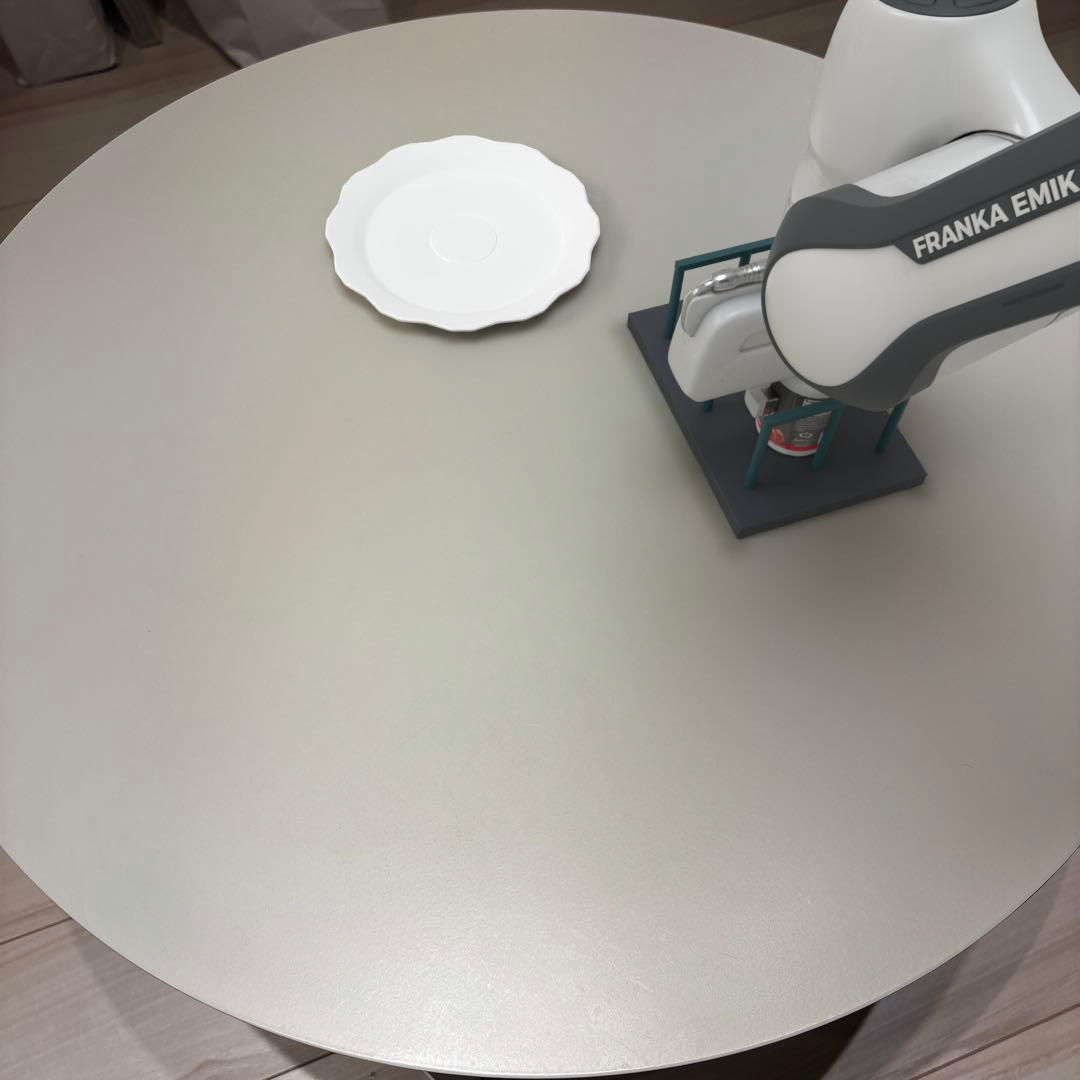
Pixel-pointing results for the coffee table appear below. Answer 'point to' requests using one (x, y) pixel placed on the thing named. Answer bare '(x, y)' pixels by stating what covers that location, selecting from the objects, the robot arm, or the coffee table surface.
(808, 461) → the rack
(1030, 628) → the coffee table surface
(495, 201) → the plate
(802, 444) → the pill bottle
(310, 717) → the coffee table surface
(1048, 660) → the coffee table surface
